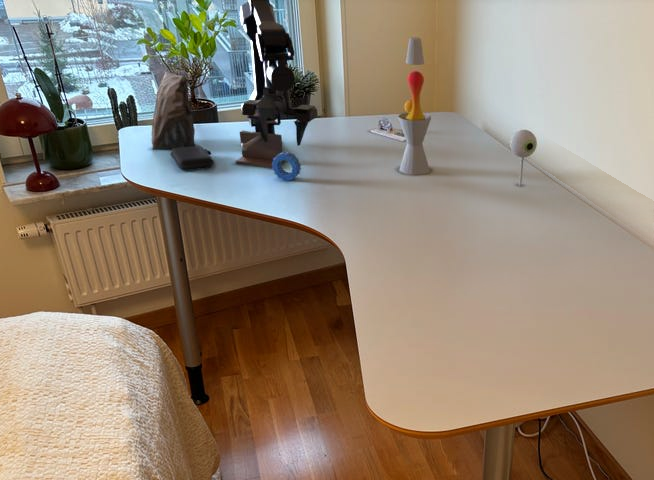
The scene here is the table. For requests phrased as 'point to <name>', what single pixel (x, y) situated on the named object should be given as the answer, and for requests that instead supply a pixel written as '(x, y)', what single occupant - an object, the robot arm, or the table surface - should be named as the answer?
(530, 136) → the eyeball on stand
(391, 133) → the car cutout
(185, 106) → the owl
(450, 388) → the table surface
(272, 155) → the hook
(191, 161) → the carrying case
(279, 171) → the tape roll
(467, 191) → the table surface
